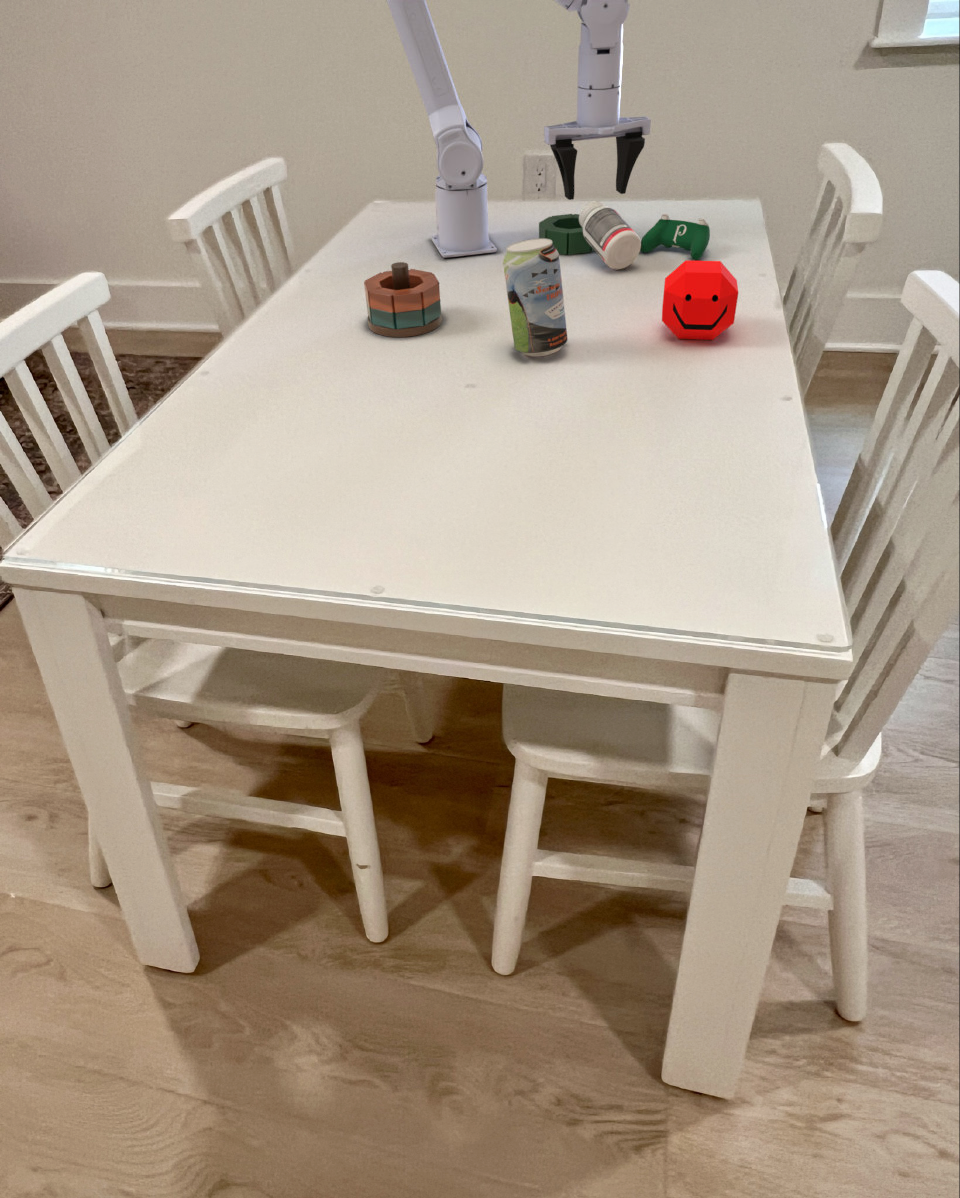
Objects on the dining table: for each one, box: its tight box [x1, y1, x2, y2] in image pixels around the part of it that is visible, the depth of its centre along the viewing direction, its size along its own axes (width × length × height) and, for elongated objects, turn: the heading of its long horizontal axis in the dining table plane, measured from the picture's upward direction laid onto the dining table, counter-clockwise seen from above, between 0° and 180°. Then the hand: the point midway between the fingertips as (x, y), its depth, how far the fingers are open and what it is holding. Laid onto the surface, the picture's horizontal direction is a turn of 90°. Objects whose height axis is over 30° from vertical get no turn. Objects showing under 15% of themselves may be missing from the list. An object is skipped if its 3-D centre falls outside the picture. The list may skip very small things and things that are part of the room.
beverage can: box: [502, 238, 568, 357], centre depth 97 cm, size 6×7×12 cm
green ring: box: [538, 213, 595, 256], centre depth 129 cm, size 9×9×3 cm
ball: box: [661, 259, 739, 341], centre depth 101 cm, size 8×8×8 cm
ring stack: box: [363, 261, 442, 338], centre depth 107 cm, size 9×9×7 cm
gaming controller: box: [640, 213, 711, 261], centre depth 124 cm, size 9×4×6 cm
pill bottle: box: [579, 200, 642, 271], centre depth 121 cm, size 5×5×10 cm
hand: (595, 194), depth 126 cm, fingers open, 7 cm apart
